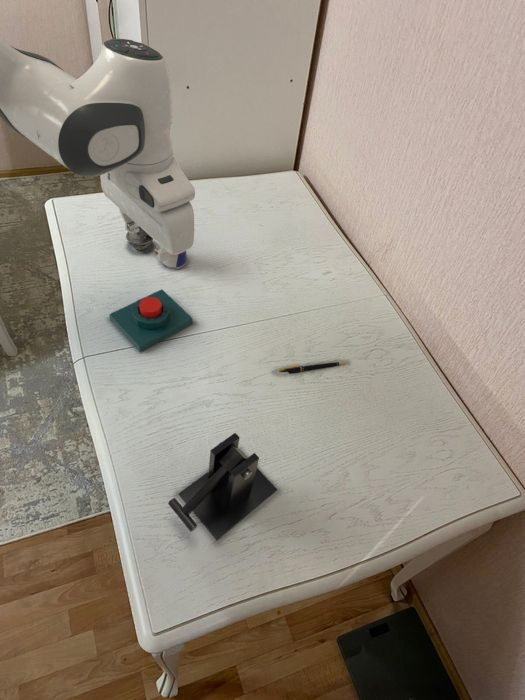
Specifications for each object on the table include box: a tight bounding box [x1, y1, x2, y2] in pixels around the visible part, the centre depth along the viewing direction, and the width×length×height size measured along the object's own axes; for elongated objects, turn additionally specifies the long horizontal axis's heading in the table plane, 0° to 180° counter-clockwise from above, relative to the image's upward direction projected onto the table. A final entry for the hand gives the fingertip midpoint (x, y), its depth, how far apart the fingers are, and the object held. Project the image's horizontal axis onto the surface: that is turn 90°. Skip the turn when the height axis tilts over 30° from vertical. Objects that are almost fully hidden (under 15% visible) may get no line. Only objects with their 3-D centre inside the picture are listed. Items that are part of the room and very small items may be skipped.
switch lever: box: [167, 447, 248, 533], centre depth 68 cm, size 12×5×2 cm
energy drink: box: [160, 250, 187, 271], centre depth 105 cm, size 5×5×12 cm
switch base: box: [178, 432, 278, 541], centre depth 72 cm, size 12×9×13 cm
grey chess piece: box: [125, 226, 154, 251], centre depth 107 cm, size 6×6×12 cm
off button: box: [139, 296, 162, 319], centre depth 94 cm, size 4×4×2 cm
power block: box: [108, 289, 193, 353], centre depth 96 cm, size 12×10×4 cm
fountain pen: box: [278, 361, 345, 375], centre depth 94 cm, size 14×1×2 cm, turn 105°
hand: (147, 244), depth 83 cm, fingers open, 7 cm apart
